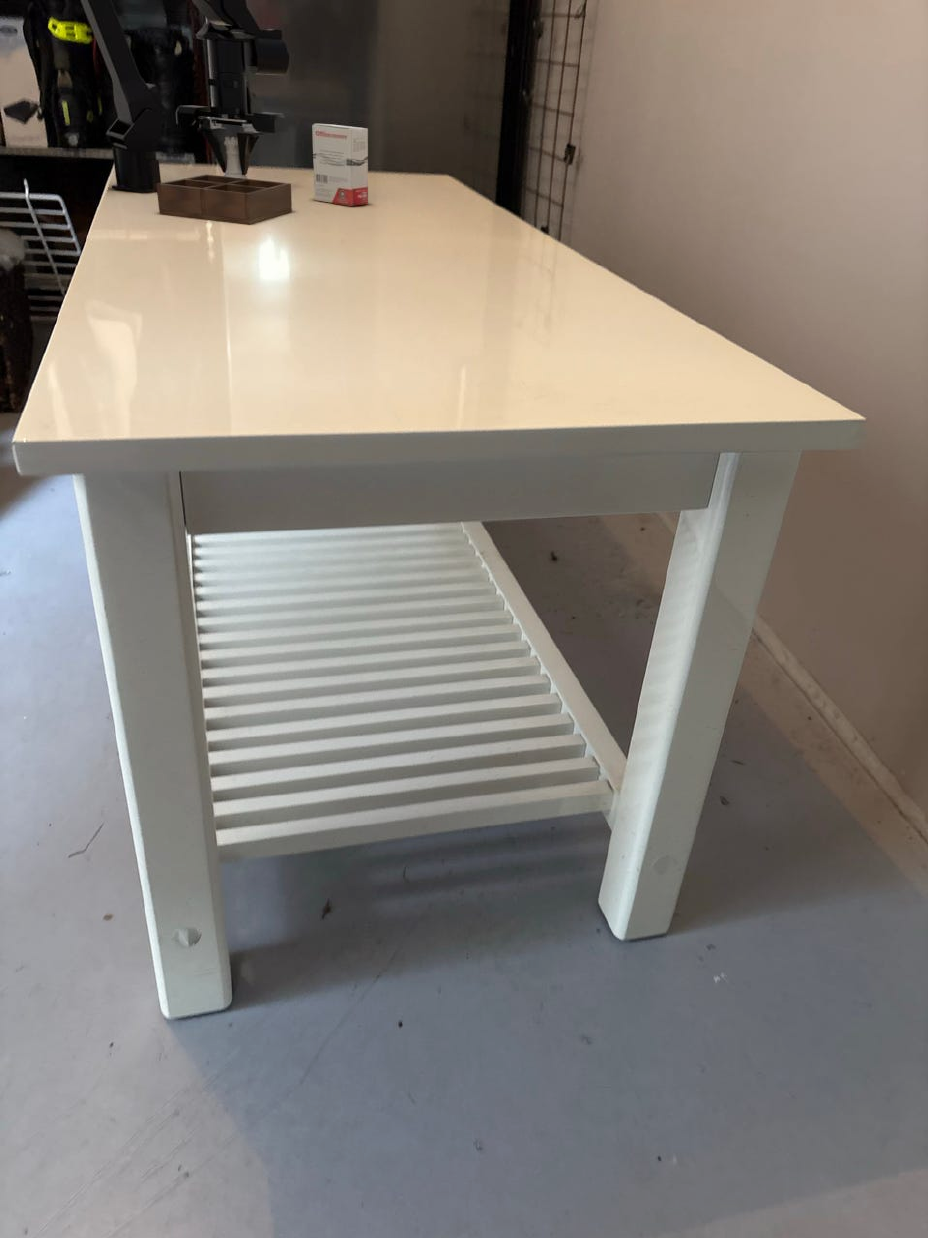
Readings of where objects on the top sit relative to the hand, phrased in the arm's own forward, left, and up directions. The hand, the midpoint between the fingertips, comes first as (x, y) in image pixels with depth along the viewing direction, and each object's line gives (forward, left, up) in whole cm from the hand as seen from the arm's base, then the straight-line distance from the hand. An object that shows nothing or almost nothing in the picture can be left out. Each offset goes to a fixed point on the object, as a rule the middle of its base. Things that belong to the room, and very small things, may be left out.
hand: (235, 173), depth 162 cm
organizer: (+12, -26, -2) cm, 29 cm away
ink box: (+22, -4, -2) cm, 22 cm away
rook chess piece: (0, 0, -2) cm, 2 cm away
